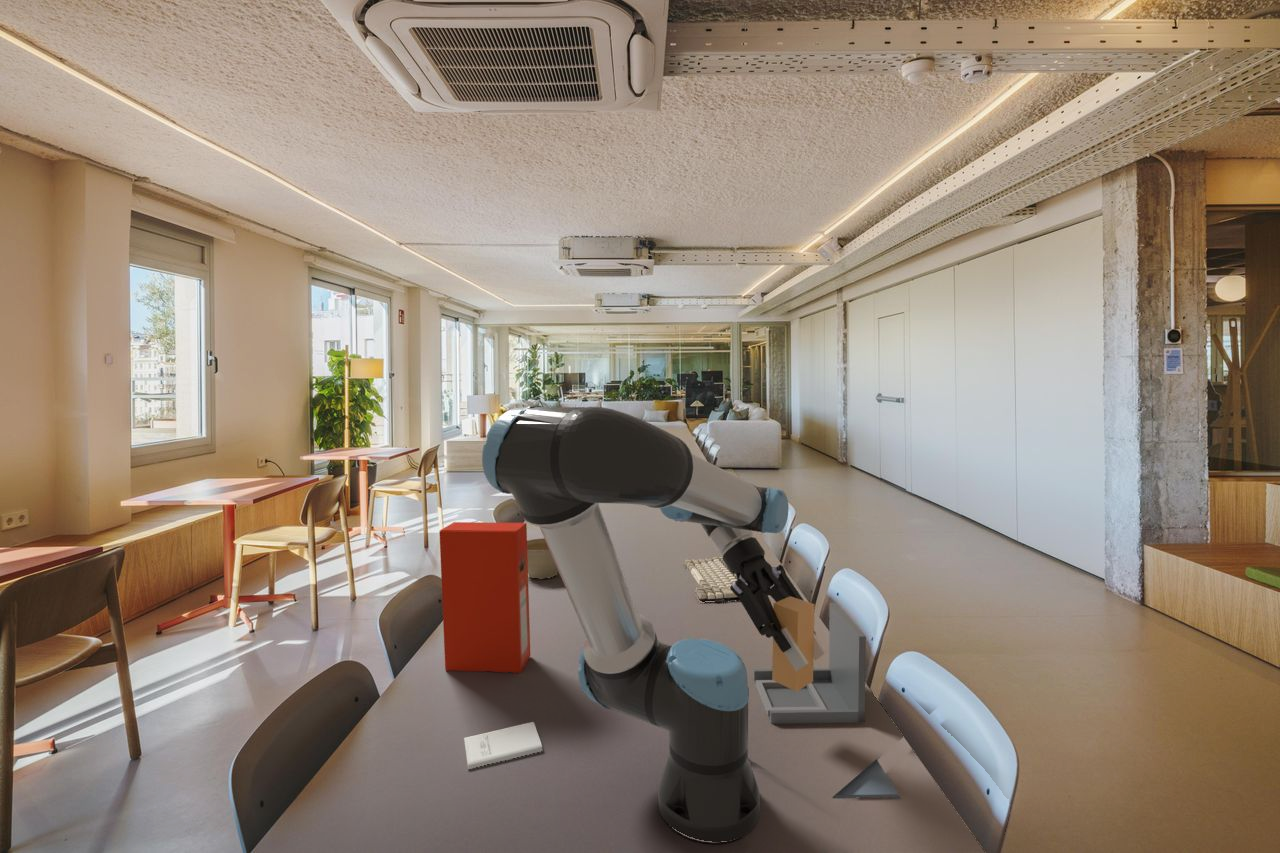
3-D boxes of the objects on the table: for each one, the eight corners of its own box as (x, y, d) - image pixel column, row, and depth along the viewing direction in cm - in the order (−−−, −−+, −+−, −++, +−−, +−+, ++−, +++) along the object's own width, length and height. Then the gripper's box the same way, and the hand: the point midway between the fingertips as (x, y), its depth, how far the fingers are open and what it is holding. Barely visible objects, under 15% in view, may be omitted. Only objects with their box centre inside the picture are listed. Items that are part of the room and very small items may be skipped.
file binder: (520, 674, 125) (516, 531, 123) (444, 671, 127) (439, 530, 125) (530, 656, 134) (526, 522, 131) (459, 654, 135) (454, 521, 133)
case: (771, 731, 103) (771, 637, 102) (753, 685, 119) (753, 604, 118) (869, 730, 103) (870, 636, 102) (838, 684, 119) (839, 602, 118)
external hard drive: (542, 754, 98) (467, 773, 94) (533, 729, 106) (464, 744, 102) (542, 745, 98) (467, 763, 94) (533, 720, 106) (463, 735, 102)
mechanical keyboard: (675, 566, 202) (674, 557, 202) (727, 564, 204) (727, 554, 204) (699, 607, 164) (699, 595, 164) (763, 603, 167) (763, 592, 167)
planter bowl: (577, 574, 192) (576, 543, 192) (538, 587, 181) (537, 553, 180) (547, 565, 204) (547, 535, 203) (509, 576, 192) (508, 544, 191)
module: (796, 691, 97) (798, 611, 96) (772, 680, 101) (773, 603, 100) (812, 681, 100) (814, 604, 99) (788, 670, 104) (790, 596, 103)
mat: (833, 798, 86) (833, 795, 86) (813, 755, 96) (813, 753, 96) (898, 797, 86) (898, 794, 86) (872, 755, 96) (872, 752, 96)
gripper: (756, 548, 117) (826, 654, 105) (694, 566, 105) (766, 688, 94) (778, 527, 112) (853, 636, 101) (716, 544, 100) (794, 670, 89)
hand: (811, 661), depth 97 cm, fingers closed on module, 5 cm apart
